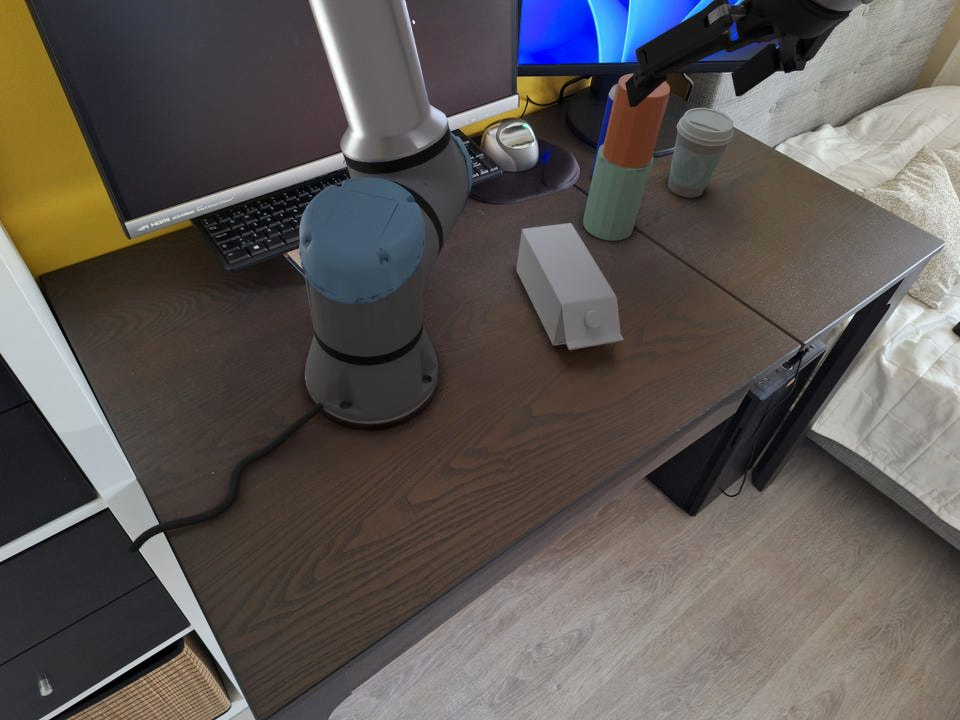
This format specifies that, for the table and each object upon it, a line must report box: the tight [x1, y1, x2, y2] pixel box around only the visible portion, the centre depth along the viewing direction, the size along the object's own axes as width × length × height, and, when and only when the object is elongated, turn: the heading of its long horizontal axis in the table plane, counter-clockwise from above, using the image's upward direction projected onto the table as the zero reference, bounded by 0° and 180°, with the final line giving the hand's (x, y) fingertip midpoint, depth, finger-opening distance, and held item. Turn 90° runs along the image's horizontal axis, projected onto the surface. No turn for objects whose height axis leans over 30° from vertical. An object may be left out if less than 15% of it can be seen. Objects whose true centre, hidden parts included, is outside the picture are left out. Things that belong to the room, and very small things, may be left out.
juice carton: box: [515, 222, 625, 351], centre depth 85 cm, size 7×7×19 cm
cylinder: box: [603, 72, 671, 168], centre depth 89 cm, size 7×7×10 cm
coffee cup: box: [667, 107, 735, 199], centre depth 106 cm, size 8×8×12 cm
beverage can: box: [591, 83, 618, 176], centre depth 105 cm, size 5×5×15 cm
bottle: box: [582, 144, 655, 242], centre depth 96 cm, size 8×8×16 cm
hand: (684, 89), depth 75 cm, fingers open, 13 cm apart
